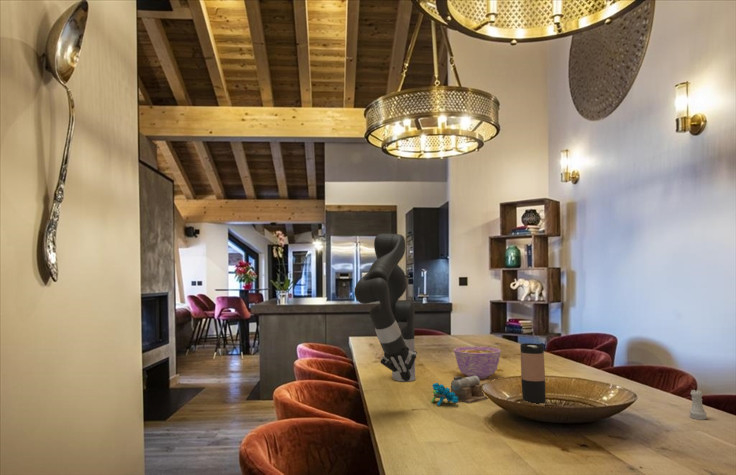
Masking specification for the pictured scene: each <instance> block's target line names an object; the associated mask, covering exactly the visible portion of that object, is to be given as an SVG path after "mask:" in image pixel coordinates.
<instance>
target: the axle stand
mask: <svg viewBox="0 0 736 475" xmlns="http://www.w3.org/2000/svg"><path fill="white" fill-rule="evenodd" d="M480 383H481V379H479V378H478V377H477V376H471V377H468V376H467V377H462V376H460V375H458V376H454V377H453V379H452V380H451V383H450V392H451V393H452V392H454V393H455V396H457V397H458V398H459V399H458V400H459V401H458V402H462V403H466V404H472V403H476V402H481V401H485V400H488V399H489V397H488V398H487V397H486V396H487V395H485V392H484V393H483V392H482V390H481V385H482V384H480Z"/></svg>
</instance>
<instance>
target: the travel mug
mask: <svg viewBox="0 0 736 475" xmlns="http://www.w3.org/2000/svg"><path fill="white" fill-rule="evenodd" d="M544 349H545V348H544V344H541V343H533V342H532V343H531V342H529V343H525V342H524V343H521V344H520V371H521V372H520V373H521V374H520V378H521V379H520V380H521V393H522V400H523V399H524V400H525V401H528V402H531V403H536V404H539V403H545V404H546V370H545V367H546V365H545V352H544V351H545V350H544Z"/></svg>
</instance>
